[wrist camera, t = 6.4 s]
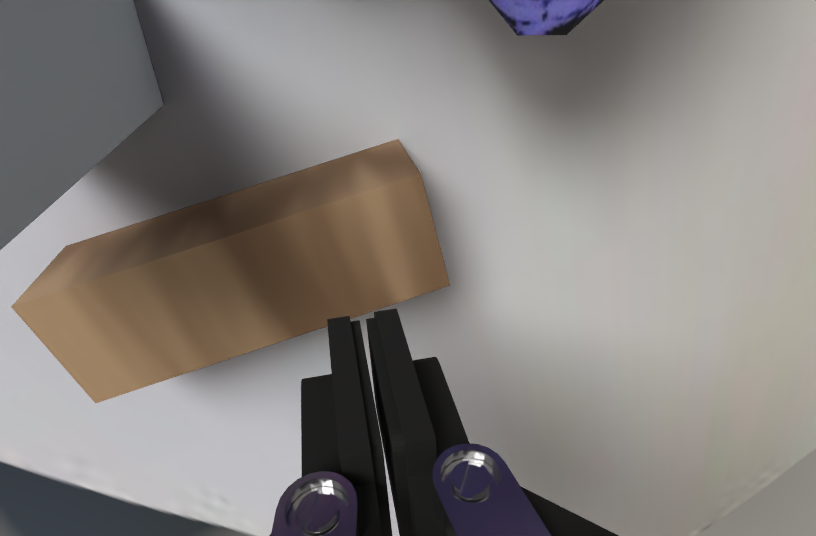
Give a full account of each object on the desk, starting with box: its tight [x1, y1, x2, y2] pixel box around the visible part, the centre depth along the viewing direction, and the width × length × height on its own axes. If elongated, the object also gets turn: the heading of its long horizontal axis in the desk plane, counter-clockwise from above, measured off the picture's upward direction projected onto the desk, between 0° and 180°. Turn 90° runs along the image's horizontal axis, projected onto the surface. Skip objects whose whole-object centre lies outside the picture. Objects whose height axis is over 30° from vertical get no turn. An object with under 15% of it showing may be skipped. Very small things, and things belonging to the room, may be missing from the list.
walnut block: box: [12, 139, 450, 403], centre depth 17 cm, size 4×4×12 cm
